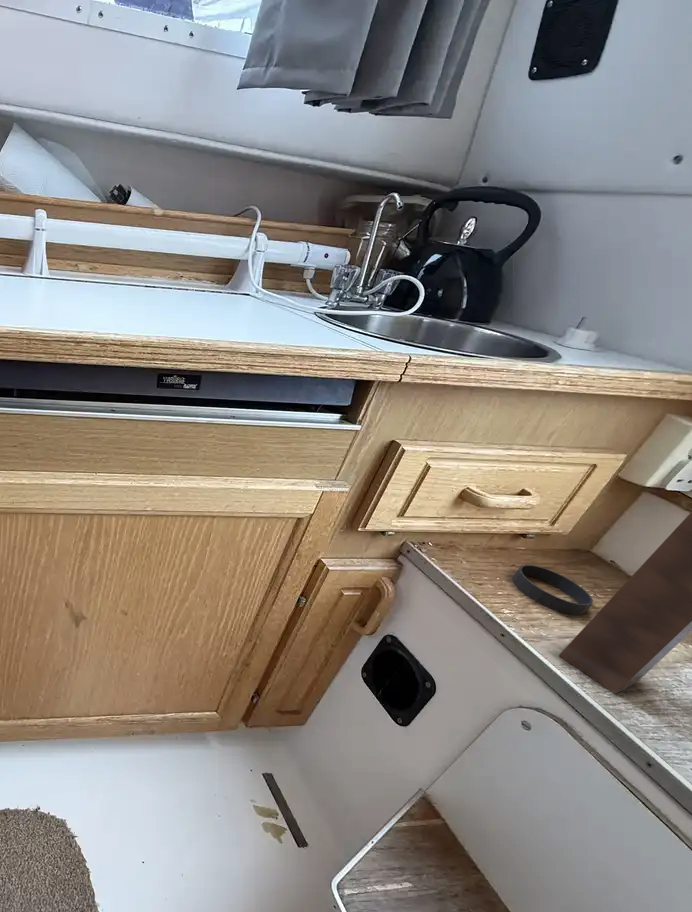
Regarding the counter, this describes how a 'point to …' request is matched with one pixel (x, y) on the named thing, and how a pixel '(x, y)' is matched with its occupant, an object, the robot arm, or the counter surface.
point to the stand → (640, 617)
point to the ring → (548, 598)
